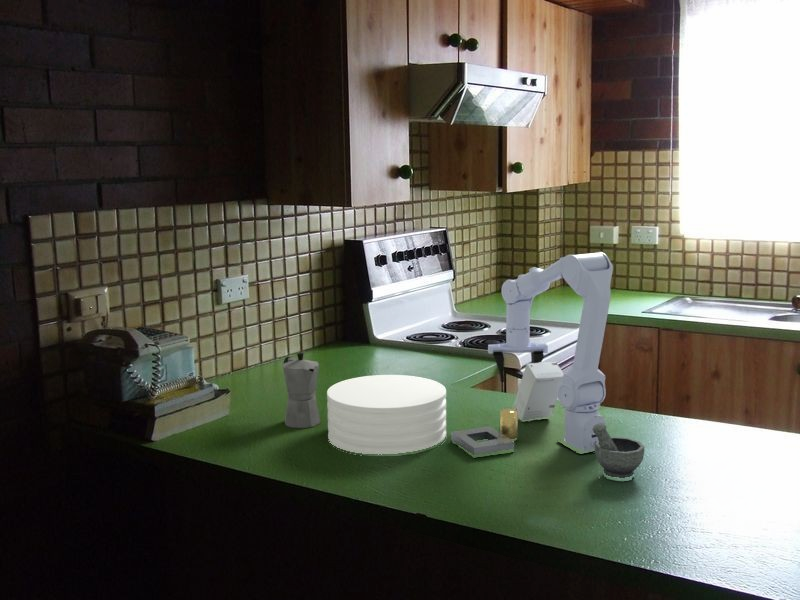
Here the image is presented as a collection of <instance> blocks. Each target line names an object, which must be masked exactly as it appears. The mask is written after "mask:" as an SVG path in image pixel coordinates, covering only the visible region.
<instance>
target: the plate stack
mask: <svg viewBox="0 0 800 600" xmlns="http://www.w3.org/2000/svg"><path fill="white" fill-rule="evenodd" d="M446 398H447V388H446V387H445V385H443V384H442V383H440V382H439V381H436V380H433V379H430V378H425V377H420V376H414V375H406V374H404V375H403V374H377V375H376V374H375V375H365V376H364V375H363V376H359V377H353V378H348V379H345V380H342V381H339V382H336V383H335V384H333V385H331V386H330V387H329V388H328V389H327V391H326V399H327V402H326V403H327V404H326V409H327V421H328V422H327V431H328V433H327V437H328V438H327V439H329V440H328V442H329V441H330V442H329V444H330V443H331V444H332V445H334V446H336V447H337V448H340V449H343V450H346V451H350V452H355V453H362V454H378V455H379V454H381V455H382V454H398V453H406V452H413V451H418V450H422V449H426V448H429V447H432V446H434V445H437V444H438V443H440V442H442V441H443V440H444V439H445V437H446V438H447V409H446V408H447V399H446ZM331 444H330V445H331ZM332 445H331V446H332ZM334 446H333V447H334ZM337 448H336V449H337Z"/></svg>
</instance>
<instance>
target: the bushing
mask: <svg viewBox="0 0 800 600" xmlns="http://www.w3.org/2000/svg"><path fill="white" fill-rule="evenodd" d="M499 413H500V415H499V417H500V418H499V420H500V421H499V422H500V423H499V427H500V428H499V429H500V430H499V432H500V433H501V434H503V435H504V436H506V437H508V438H509V439H515V438H517V439H518V432H519V431H518V429H519V428H518V427H519V426H518V423H519V422H518V421H519V420H518V419H519V417H518V411H517V410H516V409H514V408H502V409H500V411H499Z"/></svg>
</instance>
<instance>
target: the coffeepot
mask: <svg viewBox="0 0 800 600" xmlns="http://www.w3.org/2000/svg"><path fill="white" fill-rule="evenodd" d="M296 355H297V359H296V358H295V357H291V356H286V357H285V358H284V360H283V363H282V368H283V374H284V381H285V384H286V385H285V387H286V391H287V393H288V394H287V395H288V396H287V401H286V409H285V418H284V424H285V426H286V427H288V428H293V429H309V428H313V427H317V426H318V425H319V424H320V423H321V419H320V414H319V407H318V403H317V399H316V398H317V397H316V391H317V385H318V378H319V369H320V364H319V362H318V361H315V360H308V359H304V352H298V353H296Z"/></svg>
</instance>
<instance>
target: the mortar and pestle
mask: <svg viewBox="0 0 800 600" xmlns="http://www.w3.org/2000/svg"><path fill="white" fill-rule="evenodd" d="M592 430H593V432H594V433H595V434H596V436H597V438H598V441H597V442H595V452H594V453H595V458H596V460H597V461H598V463H599V465H600V466H601V468H602V469H603V471H604V473H605V474H606V475H608V476H611V477H619V478H625V477H630V476H632V475H633V474H634V475H635V472H634V471H635V470H636V469H637V468H638V467H640V465H641V463H642V461H643V460H644V455H645V446H644V444H642V443H641V441H639V440H636V439H632V438H630V437H619V436H611V435H610V433H609V432H608V431H607V425H606V426H605V424H604V423H598V424H596V425H595V426H593V429H592Z"/></svg>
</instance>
